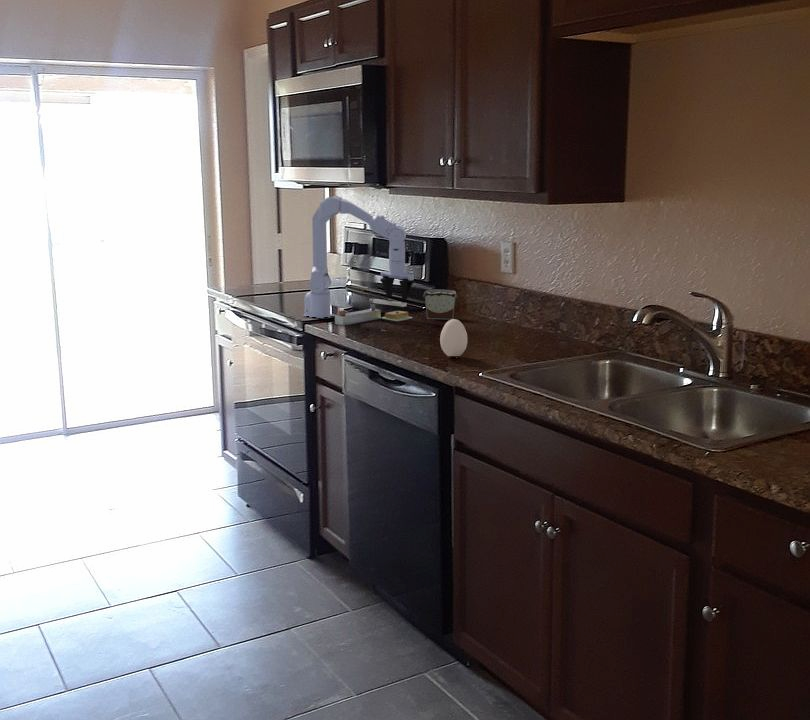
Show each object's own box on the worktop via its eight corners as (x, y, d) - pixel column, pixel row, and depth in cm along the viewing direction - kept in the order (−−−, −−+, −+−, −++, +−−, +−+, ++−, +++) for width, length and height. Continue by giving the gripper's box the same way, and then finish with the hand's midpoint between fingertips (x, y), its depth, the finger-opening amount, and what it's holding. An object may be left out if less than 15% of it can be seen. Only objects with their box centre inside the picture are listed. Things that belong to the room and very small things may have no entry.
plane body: (335, 324, 318) (334, 307, 316) (372, 317, 331) (372, 301, 330) (343, 325, 315) (342, 308, 314) (380, 318, 329) (380, 302, 327)
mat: (381, 318, 328) (381, 317, 328) (396, 315, 334) (396, 314, 334) (397, 321, 323) (397, 320, 323) (412, 318, 329) (412, 317, 329)
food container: (457, 316, 333) (458, 289, 331) (456, 319, 327) (457, 292, 325) (424, 316, 334) (424, 289, 332) (423, 318, 328) (423, 291, 326)
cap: (385, 317, 328) (385, 311, 327) (398, 315, 333) (398, 309, 332) (395, 319, 324) (395, 313, 324) (408, 317, 329) (408, 311, 329)
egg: (450, 353, 270) (451, 315, 268) (472, 357, 266) (473, 318, 263) (434, 357, 264) (434, 319, 262) (456, 361, 260) (457, 322, 257)
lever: (402, 306, 317) (402, 303, 317) (368, 302, 327) (367, 299, 327) (407, 306, 319) (407, 302, 319) (372, 301, 329) (372, 298, 329)
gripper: (419, 261, 322) (419, 299, 325) (389, 258, 332) (389, 295, 335) (406, 263, 317) (406, 301, 320) (376, 259, 327) (376, 297, 330)
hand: (396, 298), depth 327 cm, fingers open, 7 cm apart
